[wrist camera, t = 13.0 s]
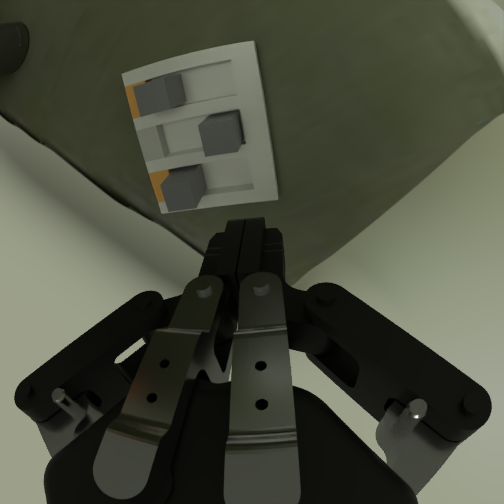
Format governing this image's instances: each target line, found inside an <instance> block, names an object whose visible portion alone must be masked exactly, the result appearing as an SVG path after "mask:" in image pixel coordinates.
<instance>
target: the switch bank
mask: <svg viewBox="0 0 504 504" xmlns="http://www.w3.org/2000/svg"><path fill="white" fill-rule="evenodd" d="M177 74H181V78H182V83H183V87H184V92H185V96H186V101H185V102H183V103H181V104H179V105H177V106H175V107H174V108H172V109H169V110H165V111H161V112H157V113H154V114H150V115H146V116H143V117H140V113H139V110H138V106H137V102H136V98H135V94H134V90H133V87H134V86H137V85H140V84H143V83H146V82H150V81H153V80H156V79H160V78H163V77H168V76H172V75H177ZM122 78H123V82H124V86H125V90H126V94H127V98H128V102H129V106H130V110H131V114H132V117H133V121H134V125H135V128H136V132H137V136H138V139H139V143H140V146H141V149H142V153H143V156H144V160H145V163H146V166H147V169H148V173H149V176H150V179H151V182H152V185H153V188H154V192H155V195H156V198H157V201H158V204H159V207H160V210H161V213H162V214H164V213H171V212H168V209H167V206H166V203H165V199H164V196H163V193H162V190H161V187H160V185H161V184H162V182H163V181H164V180H165V179H166V177H167V176H168V175H169V174H170V172H171V171H172V170H173V169H174V168H178V167H184V166H189V165H195V164H201V165H202V169H203V173H204V178H205V182H206V186H207V188H206V190H205V192H204V194H203V196H202V198H201V200H200V202H199V204H198V206H197V208H195V209H201V208H209V207H217V206H225V205H234V204H243V203H252V202H261V201H271V200H278V184H277V177H276V170H275V162H274V155H273V148H272V141H271V135H270V128H269V121H268V115H267V108H266V102H265V96H264V90H263V84H262V78H261V72H260V66H259V60H258V54H257V49H256V43H255V41H248V42H241V43H235V44H230V45H224V46H219V47H214V48H210V49H205V50H201V51H196V52H192V53H188V54H184V55H180V56H177V57H173V58H169V59H166V60H162V61H159V62H156V63H153V64H149V65H146V66H143V67H140V68H137V69H134V70H131V71H129V72H126V73H123V74H122ZM235 110H239V113H240V119H241V124H242V130H243V135H244V138H243V141H242V143H241V146H240V149H239V151H238V152H234V153H227V154H221V155H214V156H208V157H205V154H204V150H203V146H202V141H201V137H200V133H199V128H198V125H199V124H200V123H201V122H202V121H203V120H204V119H206V118H207V117H208V116H209V115H211V114H217V113H223V112H229V111H235ZM187 210H193V209H187ZM180 211H186V210H180ZM173 212H179V211H173Z"/></svg>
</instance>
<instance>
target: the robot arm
mask: <svg viewBox="0 0 504 504" xmlns="http://www.w3.org/2000/svg"><path fill="white" fill-rule="evenodd" d="M28 42H29V38H28V31H27V29H26V27H25V26H24V25H23V24H22V23H20V22H13V23H4V24H0V76H2V75H6V74H9V73H12V72H14V71H15V70H17V69H18V67H19V66H20V65H21V63H22V62H23V60H24V58H25V56H26V53H27V49H28ZM237 323H238V331H236V329H237ZM141 338H143V340H144V342H145V343H146V344H144V345H143V346H142V347H141V348H139V349H138V350H137V351H135V352H134V353H133V354H132V355H130V356H129V357H128V358H126V359H125V360H124V361H122V362H121V363H117V364H116V363H114V362H115V359H116V358H117V356H119V355H120V354H121V353H123V352H124V351H125V350H126V349H128V348H129V347H130V346H131V345H133V344H134V343H135V342H137V341H138V340H139V339H141ZM289 349H292V350H296V351H300V352H305V353H306V356H307V357H308V359H309V360H310V361H311V362H313V363H314V364H315V365H316V366H317V367H318V368H319V369H320V370H321V371H322V372H323V373H324V374H325V375H327V376H328V377H329V378H330V379H331V380H332V381H333V382H334V383H335V384H336V385H338V386H339V387H340V388H341V389H342V390H343V391H345V392H346V394H348V395H349V396H350V397H351V398H352V399H353V400H354V401H356V402H357V403H358V404H359V405H360V406H361V407H362V408H363V409H365V410H366V411H367V412H368V413H369V414H370V415H371V416H373V417H374V418H375V419H376V420H377V421H378V422H379V425H378V427H377V429H376V440H377V443H378V445H379V446H380V447H381V448H382V450H383V451H384V453H385V455H386V458H387V464H386V463H385V462H384V461H383V460H382V459H381V458H380V457H379V456H377V454H376V453H375V452H373V451H372V450H371V449H370V448H369V447H368V446H367V445H366V444H365V443H364V442H363V441H362V440H361V439H360V438H359V437H358V436H357V435H356V434H355V433H354V432H353V431H352V430H351V429H350V428H349V427H348V426H347V425H346V424H345V423H344V422H343V421H342V420H341V419H340V418H339V417H338V416H337V415H336V414H335V413H334V412H333V411H332V410H331V409H330V408H329V407H328V406H327V404H326V403H324V402H323V401H322V400H321V399H320V398H318V397H317V396H316V395H314V394H312V393H311V392H309V391H307V390H304V389H302V388H299V387H296V386H292V376H291V366H290V356H289ZM231 365H232V374H231V381H228V380H229V374H230V369H231ZM14 400H15V404H16V406H17V407H18V408H19V409H21V410H22V411H23V412H24V413H25V414H27V415H28V416H29V417H30V418H31V419H32V420H33V421H34V422H36V424H37V425H38V428H39V431H40V433H41V435H42V438H43V440H44V442H45V444H46V446H47V449H48V451H49V453H50V455H51V457H52V459H51V460H50V461H49V463H48V465H47V467H46V471H45V474H44V489H45V494H46V500H47V504H418V501H417V498H416V495H417V494H418V493H419V492H420V491H421V489H422V488H423V487H424V486H425V485H426V484H427V483H428V482H429V481H430V479H431V478H432V477H433V476H434V475H435V474H436V472H437V471H438V470H439V469H440V468H441V466H442V465H443V464H444V463H445V461H446V460H447V459H448V457H449V456H450V455H451V454H452V452H453V451H454V450H455V448H456V447H457V446H458V445H459V444H460V443H462V442H463V441H464V440H466V439H467V438H468V437H469V436H471V435H472V434H473V433H474V432H476V431H477V430H478V429H479V428H480V427H481V426H483V425H484V424H485V423H486V421H487V420H488V418H489V416H490V413H491V409H492V405H491V399H490V396H489V394H488V393H487V391H486V390H485V389H484V388H483V387H482V386H480V385H479V384H478V383H476V382H475V381H473V380H472V379H471V378H470V377H468V376H467V375H466V374H464V373H463V372H461V371H460V370H459V369H457V368H456V367H455V366H453V365H452V364H450V363H449V362H448V361H446V360H445V359H444V358H442V357H441V356H439V355H438V354H436V353H435V352H434V351H432V350H431V349H430V348H428V347H427V346H426V345H424V344H423V343H421V342H420V341H418V340H417V339H416V338H414V337H413V336H411V335H410V334H409V333H407V332H406V331H404V330H403V329H402V328H400V327H399V326H397V325H396V324H394V323H393V322H392V321H390V320H389V319H387V318H386V317H384V316H383V315H382V314H380V313H379V312H377V311H376V310H374V309H373V308H371V307H370V306H369V305H367V304H366V303H364V302H363V301H362V300H360V299H359V298H357V297H356V296H354V295H353V294H351V293H350V292H348V291H347V290H346V289H344V288H343V287H341V286H339V285H337V284H333V283H327V282H326V283H318V284H315V285H313V286H311V287H310V288H309V289H308V290H307V291H302V290H298V289H295V288H292V287H291V286H289V285H288V284H287V283H286V282H285V257H284V247H283V237H282V234H281V232H280V231H279V230H278V228H268V229H266V226H265V219H264V217H258V218H247V219H236V220H228V222H227V225H226V229H225V232H221V233H216V234H215V235H214V236H213V237H212V238H211V240H210V241H209V244H208V247H207V250H206V254H205V257H204V260H203V263H202V266H201V269H200V273H199V276H198V277H197V278H195V279H193V280H192V281H190V282H189V283H188V284H187V285H186V287H185V289H184V292H183V294H182V295H179V296H176V297H172V298H169V299H165V300H163V298H162V296H161V294H160V293H158V292H156V291H145V292H142V293H140V294H138V295H136V296H134V297H133V298H132V299H131V300H129V301H128V302H126V303H125V304H123V305H122V306H121V307H119V308H118V309H116V310H115V311H114V312H112V313H111V314H110V315H108V316H107V317H106V318H104V319H103V320H102V321H100V322H99V323H97V324H96V325H95V326H94V327H92V328H91V329H89V330H88V331H87V332H85V333H84V334H83V335H81V336H80V337H79V338H77V339H76V340H75V341H73V342H72V343H71V344H69V345H68V346H67V347H65V348H64V349H63V350H61V351H60V352H59V353H57V354H56V355H55V356H53V357H52V358H51V359H50V360H48V361H47V362H46V363H44V364H43V365H42V366H40V367H39V368H38V369H37V370H35V371H34V372H33V373H31V374H30V375H29V376H28V377H26V378H25V379H24V380H23V381H22V382H21V383H20V384H19V385H18V387H17V389H16V391H15V396H14Z"/></svg>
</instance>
